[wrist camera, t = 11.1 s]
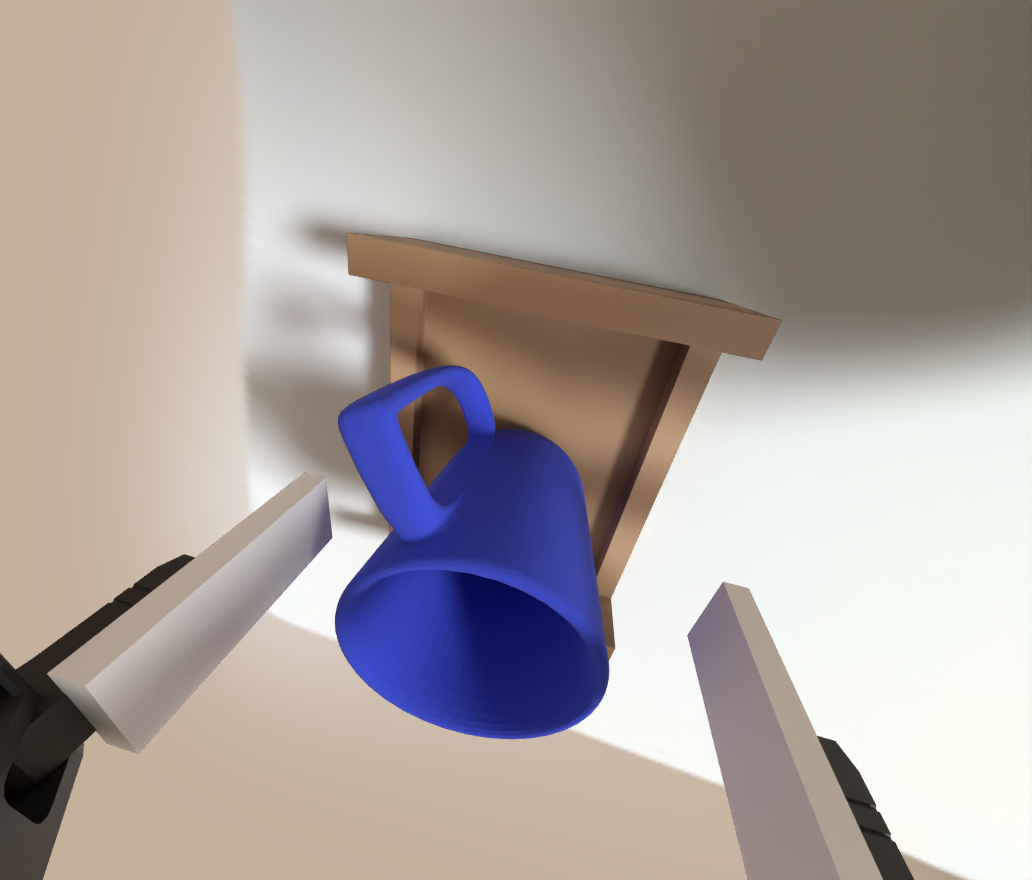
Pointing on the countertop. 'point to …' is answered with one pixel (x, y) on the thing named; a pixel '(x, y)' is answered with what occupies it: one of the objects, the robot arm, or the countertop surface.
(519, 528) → the mug
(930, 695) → the countertop surface
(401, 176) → the countertop surface
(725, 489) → the countertop surface
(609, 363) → the tray
